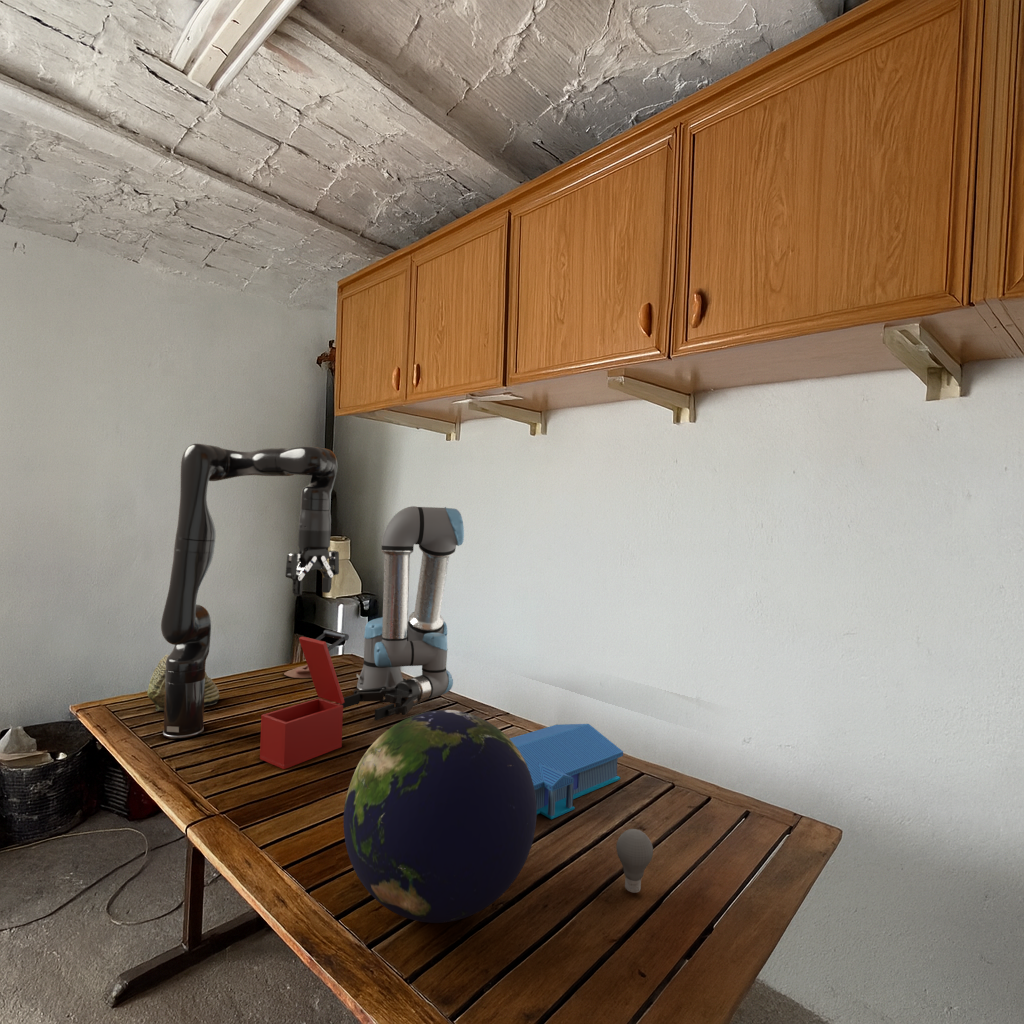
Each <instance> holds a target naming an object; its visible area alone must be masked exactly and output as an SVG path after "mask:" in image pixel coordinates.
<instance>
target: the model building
mask: <svg viewBox="0 0 1024 1024" xmlns="http://www.w3.org/2000/svg"><path fill="white" fill-rule="evenodd" d="M509 739H510V740H511V741H512V742H513V744H514V745H515V746H516V747H517V749H518V750H519V751H520V753H521V755H522V756H523V758H524V760H525V762H526V764H527V766H528V769H529V772H530V774H531V778H532V781H533V785H534V790H535V795H536V806H537V815H539V814H540V815H543V816H544V817H546V818H548V819H549V820H553V819H556V818H558V817H560V816H563V815H565V814H567V813H570V812H573V811H574V810H576V809H575V808H576V807H575V806H574V804H573V803H574V800H575V799H577V798H580V797H582V796H585V795H587V794H589V793H592V792H594V791H596V790H599V789H601V788H604V787H605V786H608V785H610V784H612V783H615V782H618V781H620V780H621V777H620V776H618V759H619V758H621V757H624V751H623V750H622V749H620V748H619V746H617V744H615V743H613V742H612V741H611V740H609V738H607V737H606V736H605V735H603V733H601V732H600V731H598V730H597V729H596V728H595V727H593V726H592V725H591V724H590V723H563V724H562V723H561V724H554V725H550V726H546V727H544V728H540V729H537V730H534V731H529V732H527V733H524V734H520V735H517V736H513V737H510V738H509Z"/></svg>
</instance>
